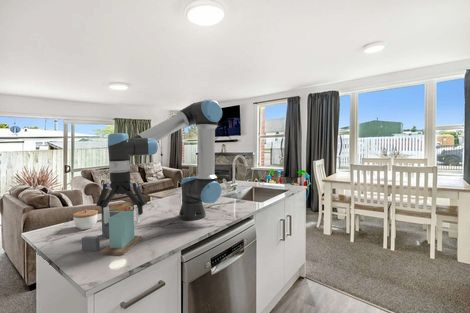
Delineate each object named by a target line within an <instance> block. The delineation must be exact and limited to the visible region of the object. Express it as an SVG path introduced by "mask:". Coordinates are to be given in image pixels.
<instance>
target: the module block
mask: <svg viewBox="0 0 470 313" xmlns="http://www.w3.org/2000/svg"><path fill="white" fill-rule="evenodd" d="M134 213H135V210H134V211H121V212H119V213H117V214H115V215H114V216H112V217H110V218H109V237H108V239H109V245H110V248H123V247H124V246H126V245H127V244H128V243H129V242H131V241H132V240H133V239H134V238H135V236H136V235H135V214H134Z"/></svg>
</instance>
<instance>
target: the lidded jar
mask: <svg viewBox="0 0 470 313" xmlns="http://www.w3.org/2000/svg"><path fill="white" fill-rule="evenodd" d="M72 217H73V222H74V225H75V226H76V228H78V229H79V230H81V231H82V230H89V229H92V228H93V227H94V226H95V225H96V223H97V222H98V218H99V211H98V210H96V209H87V208H85V209H84V210H80V211H76V212H75V213H73V214H72Z"/></svg>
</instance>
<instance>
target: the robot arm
mask: <svg viewBox="0 0 470 313" xmlns="http://www.w3.org/2000/svg"><path fill="white" fill-rule="evenodd" d="M222 117H223V110H222V107H221V105H220V104H219V102H218V101H216V100H214V99H204V100H202V101H197V102H193V103H191V104H189V105H187V106H185V107H184V108H182V109H181V110H179V111H177V112H176V114H175V115H174V116H171V117H169V118H167V119H166V120H164V121H161V122H160V123H158V124H155V125H154V126H152V127H150V128H148V129H146V130H144V131H141V132H139V133H138V134H136V135H133V136H132V137H129V134H128V133H126V132H125V133H123V132H117V133H116V132H114V133H113V132H112V133H109V134H108V135H107V150H108V166H109V168H108V169H109V171H110V173H109V181H110V182H106V183H103V184H102V190H101V192H100V195H99V197H98V199H97V202H96V206H97V207H100V208H101V212H102V215H104V224H106V223H108V222H109V218H110V214H109V206H110V205H109V203H110V202H111V201H112V199H113V198H114V197H115V196H116V195H126V196H127V197H128V198H129V199H130V200H131V201H132V203H134V204H135V205H136V207H135V221H136V224H140V222H142V215H143V213H144V211H143V210H144V208H143V207H144V206H145V205H147V204H148V201H147V200H146V198H145V196H144V194H143V192H142V190H141V189H140V186H139V182H137V181H136V182H133V183H132V182H131V172H130V170H131V165H130V164H131V163H130V157H134V156H136V157H137V156H151V155H156V154H157V152H158V148H159V147H158V142H159V141H162V140H163V139H164V138H167V137H168V136H170V135H172V134H174V133H176V132H177V131H179V130H181V129H183V128H188V127H190V126H193V125H195V127H196V128H197V129H198V165H197V166H198V167H197V168H198V170H197V171H198V174H197V175H195V176H188V177H183V178H181V182H180V183H181V184H180V190H181V206H180V210H179V212H178V217H179V219H180V220H183V221H195V220H196V221H197V220H202V219H204V218H205V217H206V215H207V214H206V213H207V212H206V210H205V206H204V204H213V203H215V202H217V201H218V200H219V198H221V195H222V185H221V184H220V183H219V182H218V176H217V175H216V174H215V165H216V164H215V163H216V162H215V161H216V160H215V156H216V155H215V154H216V151H215V150H216V149H215V148H216V145H215V141H216V140H215V139H216V137H215V136H216V129H217V127H218V125H219V124H218V123H219V122H220V121H221V119H222ZM110 189H111V191H109V190H110ZM132 189H133V190H132ZM133 191H134V192H133ZM102 215H101V216H102Z"/></svg>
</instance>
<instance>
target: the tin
mask: <svg viewBox="0 0 470 313" xmlns="http://www.w3.org/2000/svg"><path fill="white" fill-rule="evenodd" d="M108 206H109V211H134V212H135V205H134V204H133V202H130V201H122V202H118V203H113V204H111V205H108Z"/></svg>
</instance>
